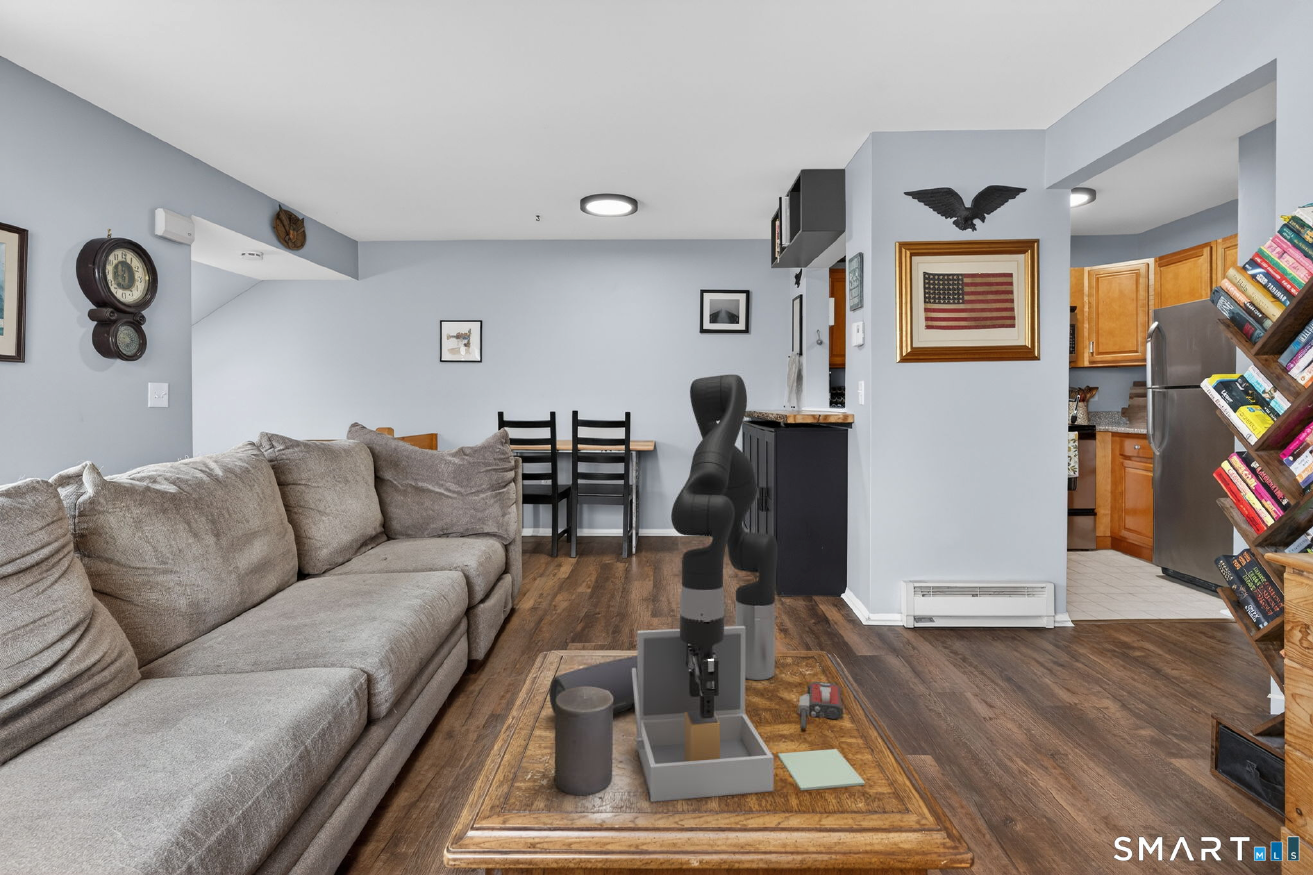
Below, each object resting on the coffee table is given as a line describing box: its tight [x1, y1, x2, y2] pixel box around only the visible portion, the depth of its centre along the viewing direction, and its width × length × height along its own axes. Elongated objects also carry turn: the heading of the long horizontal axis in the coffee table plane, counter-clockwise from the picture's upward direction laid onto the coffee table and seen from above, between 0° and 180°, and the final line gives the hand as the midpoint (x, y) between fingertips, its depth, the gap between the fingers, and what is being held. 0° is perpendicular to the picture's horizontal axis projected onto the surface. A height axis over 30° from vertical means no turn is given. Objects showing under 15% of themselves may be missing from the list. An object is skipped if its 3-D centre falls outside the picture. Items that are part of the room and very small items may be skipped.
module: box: [685, 710, 720, 762], centre depth 111 cm, size 5×5×8 cm
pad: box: [777, 748, 866, 791], centre depth 111 cm, size 11×11×1 cm
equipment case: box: [632, 625, 775, 803], centre depth 111 cm, size 18×21×22 cm
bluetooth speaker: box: [548, 655, 637, 715], centre depth 133 cm, size 23×9×10 cm, turn 124°
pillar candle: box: [554, 686, 614, 796], centre depth 108 cm, size 10×10×15 cm
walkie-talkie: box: [797, 681, 844, 730], centre depth 133 cm, size 9×4×20 cm
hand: (701, 706), depth 111 cm, fingers open, 8 cm apart
